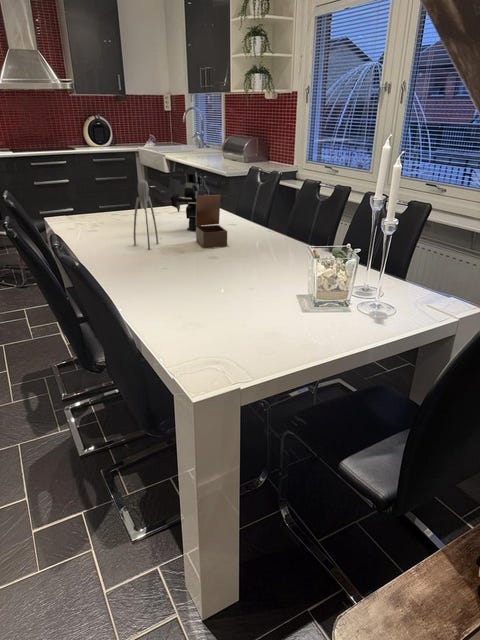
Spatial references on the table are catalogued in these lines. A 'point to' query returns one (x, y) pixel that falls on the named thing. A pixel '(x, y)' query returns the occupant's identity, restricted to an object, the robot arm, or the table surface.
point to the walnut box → (211, 236)
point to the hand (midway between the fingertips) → (187, 211)
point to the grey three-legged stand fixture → (143, 199)
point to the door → (207, 210)
